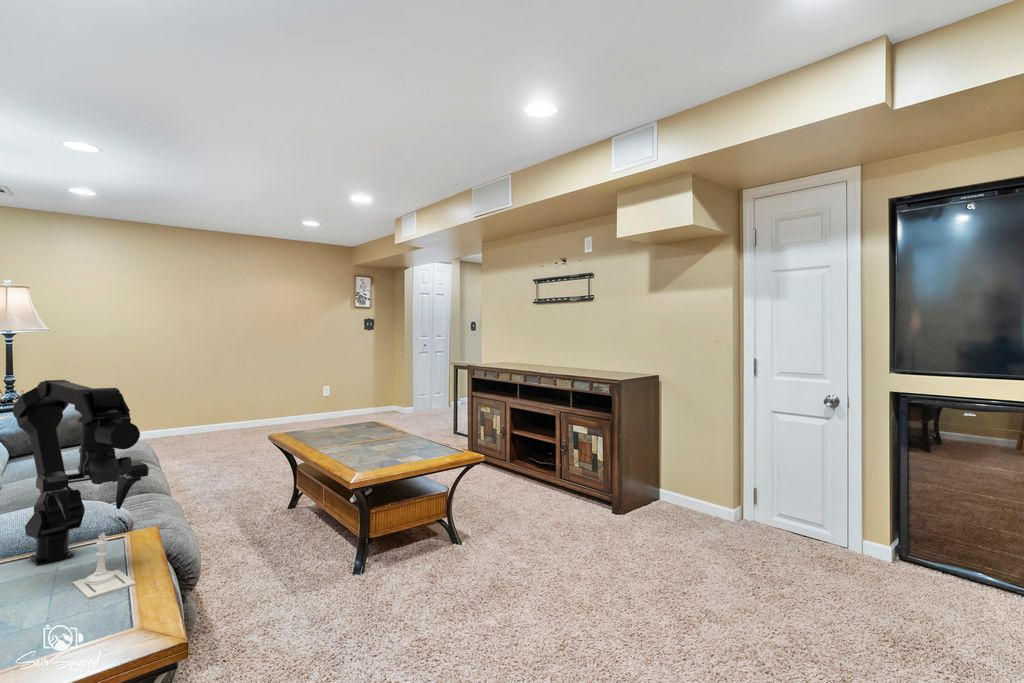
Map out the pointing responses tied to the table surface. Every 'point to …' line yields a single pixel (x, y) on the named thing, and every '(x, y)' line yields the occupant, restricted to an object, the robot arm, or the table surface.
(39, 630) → the table surface
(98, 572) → the chess piece
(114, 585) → the slotted cream plate
